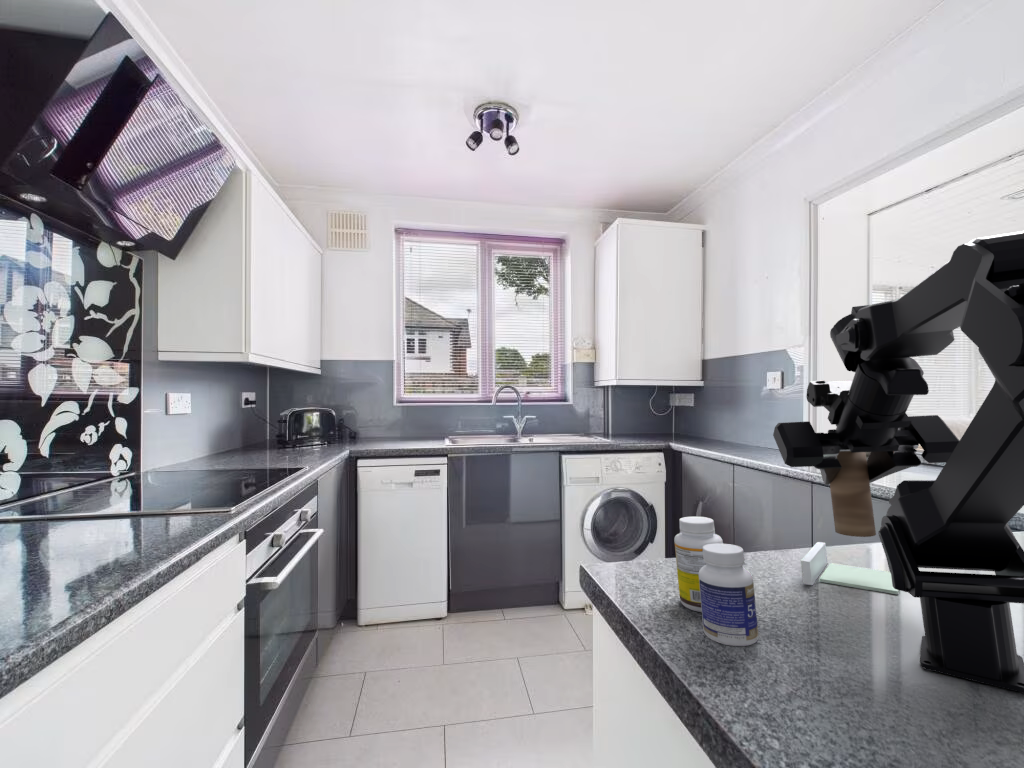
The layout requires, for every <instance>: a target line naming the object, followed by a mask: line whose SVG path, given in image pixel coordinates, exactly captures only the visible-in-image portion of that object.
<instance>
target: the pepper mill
mask: <svg viewBox="0 0 1024 768" xmlns="http://www.w3.org/2000/svg"><path fill="white" fill-rule="evenodd" d="M837 459H838V461H839V463H840V464H841V466H842V468H841V469H840V471H839V472H838V474H837V475H836V476H835V478H834V479H833V481H832V482H831V483H830V484H829V488H830V498H831V505H832V506H831V507H832V513H833V514H832V516H833V522H834V523H833V525H834V530H835V533H836V534H839V535H842V536H848V537H855V538H857V537H859V538H870V537H875V536H876V535H877V531H876V523H875V517H874V515H875V514H874V509H873V500H872V493H871V483H869V475H868V467H867V460H868V458H867V452H854V453H851V451H840V452H839V454H838V455H837Z"/></svg>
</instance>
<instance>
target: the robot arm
mask: <svg viewBox="0 0 1024 768" xmlns="http://www.w3.org/2000/svg"><path fill="white" fill-rule="evenodd" d="M958 328H960V331H961V332H962V333H963V334H964V335H965V336H966V337H967V338H968V339H969V340H970V341H971V342H972V343H973V344H974V345H975V346H976V347H978V352H979V353H980V355H981V358H982V359H983V361H984V363H985V364H986V366H987V368H988V369H989V371H990V372H991V374H992V376H993V377H994V383H993V386H992V387H991V389H990V390H989V392H988V394H987V395H986V397H985V399H984V400H983V402H982V404H981V405H980V406H979V409H978V410H977V412H976V413H975V415H974V417H973V419H972V420H971V421H970V423H969V425H968V426H967V428H966V430H965V431H964V433H963V434H962V436H961V438H960V439H959V438H958V436H957V435H956V434H955V433H954V432H953V431H952V429H951V428H950V427H949V426H948V424H947V423H946V422H945V420H943V419H942V418H941V417H940V416H939V415H938V414H933V415H932V414H931V415H913V416H911V415H908V414H907V411H908V408H909V406H910V404H911V402H912V401H913V398H914V396H926V395H928V394H929V392H930V391H929V384H928V383H927V381H926V380H925V378H924V370H923V368H922V367H921V366H920V364H919V363H918V362H917V360H915V359H914V358H915V357H916V358H917V357H926V356H937V355H939V354H940V353H941V352H942V351H943V350H945V349H946V348H947V347H948V346H950V345H952V343H953V342H955V335H954V330H956V329H958ZM829 333H830V334H829V335H830V339H831V341H832V343H833V345H834V347H835V349H836V352H837V353H838V355H839V358H840V359H841V361H842V363H843V365H844V367H845V370H847V371H848V372H853V373H854V376H853V379H847V380H834V381H832V380H831V381H825V380H823V379H822V380H810V381H809V383H808V386H807V388H806V396H805V397H806V400H807V402H808V403H809V404H810V405H811V406H812V407H815V408H818V407H824V409H826V410H827V411H828V416H827V420H828V421H829V423H830V425H835V427H836V428H835V429H828V430H827V432H826V433H824V432H816V431H815V429H814V427H813V425H812V423H811V422H810V421H789V422H778V423H777V424H776V425H775V426H774V430H773V434H772V436H773V439H774V441H775V442H776V446H777V448H778V450H779V453H780V456H781V458H782V460H783V463H784V465H787V466H788V467H790V468H802V467H803V468H805V467H806V468H807V467H814V468H815V469H816V470H819V471H820V475H821V479H822V481H823V483H824V485H825V486H830V483H831V482H832V481H833V479H834V478H835V476H836V475H837V474H838V472H839V471H840V469H841V468H842V466H841V464H840V463H839V461H838V459H837V455H838V454H839V452H840V451H851V453H854V452H866V453H869V455H868V457H867V467H868V475H869V483H870V484H871V483H873V482H876V481H878V480H880V479H883V478H885V477H888V476H891V475H892V474H895V473H898V472H902V471H904V470H907V469H909V468H914V467H916V468H917V467H919V466H921V464H922V461H921V459H920V458H919V456H918V455H917V449H918V448H919V446H920V447H921V448H922V450H923V451H922V453H921V454H920V455H921V457H922V459H923V460H925V462H927V463H928V464H940V463H941V464H942V463H945V464H944V465H943V467H942V469H941V470H940V472H939V474H938V475H937V477H936V479H932V480H931V479H927V480H925V479H924V480H922V479H921V480H919V479H918V480H915V479H914V480H913V479H912V480H911V479H910V480H907V479H906V480H903V481H901V482H899V484H897V485H896V489H895V490H894V494H893V495H892V497H891V498H888V503H889V504H890V506H889V507H888V509H887V511H886V515H883V516H882V517H881V523H880V529H879V531H878V537H879V540H880V543H881V546H882V549H883V551H884V552H883V553H884V554H885V559H886V562H887V566H888V570H889V571H890V573H891V577H892V585H893V588H895V589H897V590H899V591H900V592H901V591H902V592H904V593H908V594H909V595H911V596H912V597H913V598H919V600H920V609H921V615H922V623H923V631H924V635H922V636H921V642H920V653H919V665H920V667H921V668H922V669H925V670H929V671H931V672H932V671H933V672H936V673H941V674H945V675H949V676H953V677H956V678H962V679H964V680H965V679H966V680H969V681H974V682H977V683H981V684H985V685H990V686H994V687H998V688H1002V689H1007V690H1011V691H1015V692H1018V693H1023V694H1024V659H1023V657H1022V656H1021V655H1019V654H1018V652H1017V645H1016V638H1015V631H1014V625H1013V618H1012V610H1011V605H1010V604H1011V603H1012V604H1023V605H1024V549H1023V548H1022V546H1021V544H1020V543H1019V542H1018V540H1017V538H1016V536H1015V535H1014V532H1013V531H1012V529H1011V527H1010V525H1009V521H1011V520H1012V519H1013V517H1014V516H1015V515H1016V514H1017V513H1019V511H1021V509H1022V508H1023V507H1024V230H1021V231H1015V232H1009V233H1008V232H1007V233H1002V234H1001V233H1000V234H996V235H990V236H982V237H976V238H973V239H971V240H969V242H968V243H963V244H960V245H958V246H957V247H956V248H955V249H954V251H953V252H952V255H951V258H950V259H949V260H948V261H947V262H945V264H943V265H942V266H941V267H939V268H938V269H936V270H935V271H934V272H933V273H931V274H930V275H929V276H927V277H926V278H924V279H923V280H922V281H921V282H919V283H917V284H916V285H915V286H914V287H912V288H911V289H910V290H909V291H907V292H906V293H904V294H903V295H901V297H900V298H897V299H892V300H888V301H883V302H877V303H874V304H865V305H857V306H856V305H855V306H852V307H851V313H849V314H847V315H845V316H843V317H842V318H841V319H839V320H838V321H837V322H836V323H835V324H834V325H833V327H832V328H831V329H830V331H829ZM913 357H914V358H913ZM919 568H920V569H938V570H939V569H940V570H943V569H944V570H960V571H963V570H964V571H980V572H981V571H982V572H994V574H985V573H983V574H982V573H966V572H964V573H963V572H950V571H949V572H948V571H947V572H946V571H945V572H944V571H943V572H942V571H926V570H925V571H923V570H920V569H919Z"/></svg>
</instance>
